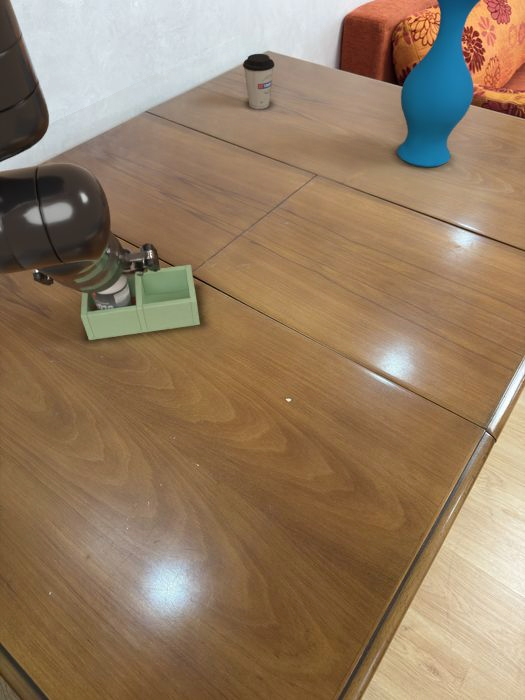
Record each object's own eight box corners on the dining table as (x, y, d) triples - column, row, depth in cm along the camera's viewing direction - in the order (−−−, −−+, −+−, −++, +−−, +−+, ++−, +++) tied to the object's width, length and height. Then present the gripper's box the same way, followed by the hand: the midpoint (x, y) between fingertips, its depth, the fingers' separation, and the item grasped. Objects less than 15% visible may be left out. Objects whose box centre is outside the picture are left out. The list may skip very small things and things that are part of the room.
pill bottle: (93, 317, 74) (77, 269, 68) (117, 298, 77) (104, 250, 71) (117, 330, 72) (103, 283, 66) (141, 310, 75) (130, 263, 69)
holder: (89, 340, 72) (80, 316, 69) (90, 301, 77) (82, 278, 74) (199, 324, 74) (196, 300, 71) (193, 288, 79) (190, 264, 76)
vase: (445, 178, 100) (490, 4, 79) (381, 162, 104) (408, -6, 84) (463, 150, 107) (508, -15, 86) (402, 137, 111) (432, -24, 91)
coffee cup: (237, 104, 123) (235, 57, 116) (260, 95, 126) (259, 49, 119) (258, 113, 120) (257, 66, 112) (280, 104, 123) (281, 57, 115)
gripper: (146, 209, 56) (157, 237, 72) (4, 225, 54) (47, 250, 70) (157, 280, 56) (165, 293, 72) (16, 299, 54) (57, 307, 70)
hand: (107, 272), depth 71 cm, fingers open, 8 cm apart
